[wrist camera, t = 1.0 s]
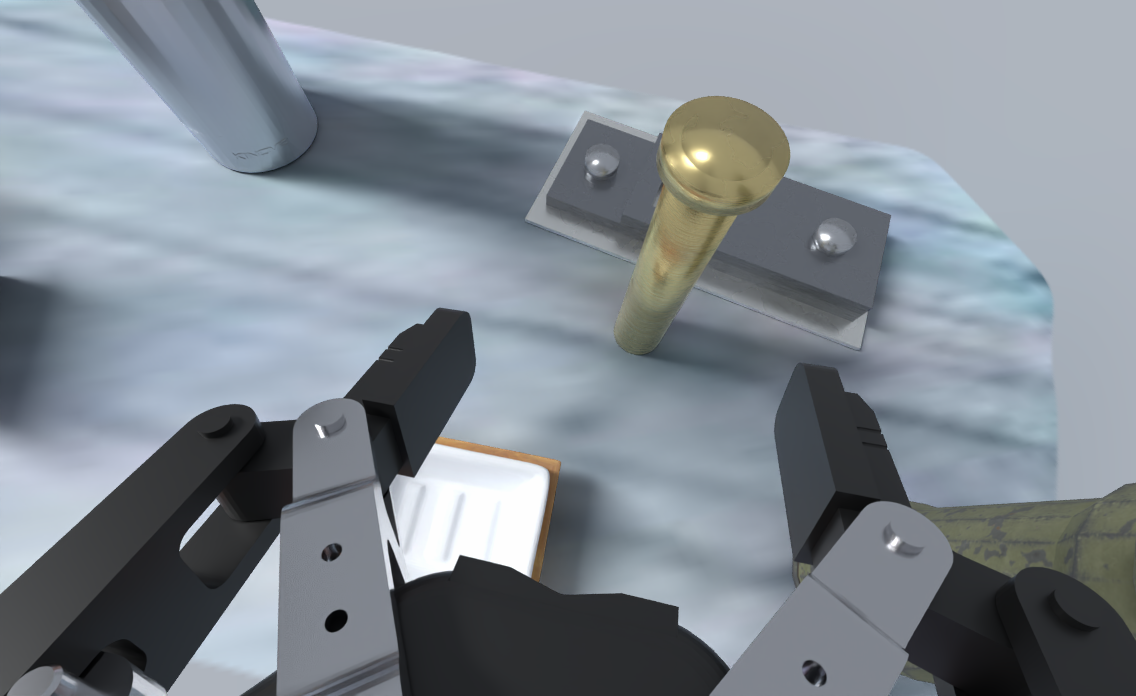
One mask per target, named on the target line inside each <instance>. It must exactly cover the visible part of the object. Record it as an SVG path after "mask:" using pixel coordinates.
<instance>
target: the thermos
mask: <svg viewBox="0 0 1136 696" xmlns="http://www.w3.org/2000/svg"><path fill="white" fill-rule="evenodd" d="M909 503H910V505H911V508H912V509H913V510H915V511H917V512H919V513H920V514H922V515H923V516H925V517H926V518H928V519H929V520H930V521H931V522H932V523H934V524H935V525H936V526H937V527H938V528H939V529H940V530H941V532H942V533H943V534H944V536H945V537H946V539H947V540H948V542H949V544H950V546H951V549H952V550H953V551H955V552H956V553H958V554H960V555H962V556H964V557H966V558H969V559H971V560H973V561H975V562H978V563H980V564H982V565H984V566H987V567H989V568H991V569H993V570H996V571H998V572H1000V573H1002V574H1005V575H1007V576H1009V577H1011V578H1012V577H1014V576H1015V575H1016V574H1017V573H1018V572H1020V571H1021V570H1022V569H1025V568H1028V567H1044V568H1049V569H1052V570H1056V571H1059V572H1061V573H1064V574H1066V575H1068V576H1070V577H1072V578H1074V579H1076V580H1078V581H1080V582H1081V583H1083V584H1084V585H1086V586H1088V587H1089V588H1090V589H1092V590H1093V591H1095V592H1096V593H1097V594H1098V595H1100V596H1101V597H1102V598H1103V599H1104V600H1106V601H1107V602H1108V603H1109V604H1110V605H1111V606H1112V607H1113V608H1114V609H1115V611H1116V612H1117V613H1118V614H1119V615H1120V616H1121V618H1122V619H1123V621H1124V622H1125V624H1126V625H1127V627H1128V628H1129V630H1130V632H1131V633H1132V635H1133V637H1134V638H1135V640H1136V483H1132V484H1125V485H1123V486H1122V487H1120V488H1118V489H1117V490H1115V491H1113V492H1112V493H1110V494H1108V495H1107V496H1105V497H1103V498H1094V499H1077V500H1060V501H1044V502H1027V503H1010V504H993V505H977V506H960V507H943V508H936V507H933V506H930V505H926V504H921V503H916V502H911V501H909ZM813 571H814V567H813V565H809V564H804V563H800V562H795V561H794V559H793V572H792V576H793V579H794V583H795V587H796V588H797V587H798V586H799V584H800V583H801V582H802V581H803V580H804V578H805V577H806V576H807V575H808V574H809V573H812V572H813ZM900 674H901V675H904V676H906V677H909V678H911V679H914V680H919V681H924V682H928V683H933V684H935V683H934V679H933V675H932V674H931V673H929V672H927V671H925V670H923V669H922V668H920V667H918V666H916V665H914V664H912V663H911V662H909V661H907V662H906V664H905V666H904V668H903V670H902V672H901V673H900Z"/></svg>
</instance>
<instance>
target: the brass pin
mask: <svg viewBox="0 0 1136 696" xmlns="http://www.w3.org/2000/svg"><path fill="white" fill-rule="evenodd" d="M789 161H790V148H789V143H788V140H787V137H786V135H785V133H784V132H783V130H782V129H781V127H780V126H779V124H778V123H777V122H776V121H775V120H774V119H773V118H772V117H771V116H770V115H768V114H767V113H766V112H764V111H763V110H762V109H760V108H758V107H757V106H755V105H752V104H750V103H748V102H745V101H743V100H740V99H736V98H731V97H724V96H708V97H702V98H698V99H694V100H692V101H689V102H687V103H685V104H683V105H682V106H680V107H679V108H678V109H676V110H675V111H674V112H673V113H672V115H671V116H670V117H669V119H668V121H667V123H666V125H665V128H664V132H663V135H662V138H661V142H660V145H659V148H658V152H657V158H656V162H657V169H658V173H659V176H660V178H661V180H662V182H663V184H664V185H663V188H662V191H661V194H660V196H659V199H658V202H657V205H656V208H655V211H654V214H653V217H652V219H651V222H650V225H649V228H648V231H647V234H646V237H645V240H644V243H643V245H642V248H641V251H640V254H639V257H638V260H637V263H636V266H635V268H634V271H633V274H632V277H631V280H630V283H629V286H628V289H627V291H626V294H625V297H624V300H623V303H622V306H621V309H620V312H619V315H618V317H617V320H616V323H615V326H614V337H615V340H616V342H617V343H618V345H619V346H620V347H621V348H622V349H623V350H625V351H626V352H628V353H631V354H635V355H643V354H647V353H649V352H651V351H653V350H654V349H655V348H656V347H657V345H658V344H659V342H660V341H661V339H662V337H663V336H664V334H665V332H666V331H667V329H668V328H669V326H670V324H671V323H672V321H673V319H674V318H675V316H676V315H677V313H678V311H679V310H680V308H681V306H682V305H683V303H684V302H685V300H686V298H687V297H688V295H689V293H690V292H691V290H692V289H693V287H694V285H695V284H696V282H697V280H698V279H699V277H700V275H701V274H702V272H703V271H704V269H705V267H706V266H707V264H708V262H709V261H710V259H711V258H712V256H713V254H714V253H715V251H716V249H717V248H718V246H719V245H720V243H721V241H722V240H723V238H724V236H725V235H726V233H727V232H728V230H729V228H730V227H731V225H732V223H733V222H734V220H735V219H736V217H737V215H741V214H744V213H747V212H750V211H752V210H754V209H756V208H758V207H759V206H761V205H762V204H763V203H764V202H765V201H766V200H767V199H768V198H769V196H770V195H771V194H772V192H773V191H774V189H775V188H776V186H777V185H778V183H779V182H780V180H781V179H782V177H783V176H784V174H785V172H786V171H787V168H788V165H789Z"/></svg>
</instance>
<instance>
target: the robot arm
mask: <svg viewBox="0 0 1136 696" xmlns="http://www.w3.org/2000/svg"><path fill="white" fill-rule="evenodd" d="M75 1H76V2H77V4H78V5H79V6H80V7H81V8H82V9H83V10H84V12H85V13H86V14H87V15H88V16H89V17H90V18H91V19H92V21H93V22H94V23H95V24H96V25H97V26H98V27H99V29H100V30H101V31H102V32H103V33H104V34H105V35H106V37H107V38H108V39H109V40H110V41H111V42H112V43H113V44H114V46H115V47H116V48H117V49H118V50H119V51H120V52H121V54H122V55H123V56H124V57H125V58H126V59H127V60H128V62H129V63H130V64H131V65H132V66H133V67H134V68H135V69H136V71H137V72H138V73H139V74H140V75H141V76H142V77H143V79H144V80H145V81H146V82H147V83H148V84H149V85H150V87H151V88H152V89H153V90H154V91H155V92H156V93H157V94H158V96H159V97H160V98H161V99H162V100H163V101H164V102H165V104H166V105H167V106H168V107H169V108H170V109H171V110H172V112H173V113H174V114H175V115H176V116H177V117H178V118H179V120H180V121H181V122H182V123H183V124H184V125H185V127H186V128H187V129H188V130H189V131H190V132H191V133H192V134H193V136H194V137H195V138H196V139H197V140H198V141H199V142H200V144H201V145H202V146H203V147H204V148H205V149H206V150H207V151H208V153H209V154H210V155H211V156H212V157H213V158H214V159H215V160H216V161H217V162H218V163H220V164H221V165H223V166H225V167H227V168H229V169H233V170H236V171H240V172H249V173H253V172H265V171H269V170H274V169H277V168H280V167H282V166H285V165H287V164H289V163H290V162H292V161H294V160H296V159H297V158H298V157H300V156H301V155H302V154H303V153H304V152H305V151H306V150H307V149H308V148H309V146H310V145H311V144H312V142H313V140H314V138H315V136H316V133H317V128H318V123H317V117H316V114H315V112H314V109H313V108H312V106H311V104H310V102H309V100H308V98H307V97H306V95H305V93H304V91H303V89H302V87H301V86H300V84H299V82H298V80H297V78H296V76H295V75H294V72H293V71H292V69H291V67H290V65H289V63H288V61H287V60H286V58H285V56H284V54H283V52H282V50H281V49H280V47H279V45H278V43H277V41H276V39H275V38H274V36H273V34H272V32H271V30H270V28H269V27H268V25H267V23H266V21H265V19H264V18H263V16H262V14H261V12H260V10H259V8H258V7H257V5H256V3H255V2H254V0H75ZM475 366H476V357H475V348H474V340H473V332H472V324H471V318H470V315H469V313H468V312H465V311H459V310H452V309H445V308H438V309H436V310H435V311H434V313H433V314H432V315H431V316H430V317H429V319H428V320H427V321H426V322H425V323H424V325H423V324H415V325H414V326H412V327H410V328H409V329H407V330H405V331H403V332H402V333H400V334H399V335H398V336H397V337H396V338H395V340H394V341H393V342H392V343H391V344H390V345H389V346H388V350H387V349H386V350H385V351H384V352H383V353H382V354H381V356H380V357H379V360H376V361H375V362H374V364H373V365H372V366H371V367H370V368H369V369H368V370H367V372H366V373H365V374H364V375H363V376H362V377H361V378H360V380H359V381H358V382H357V383H356V384H355V385H354V386H353V388H352V389H351V390H350V391H349V392H348V393H347V394H346V396H345V397H344V398H338V399H331V400H327V401H323V402H321V403H318V404H316V405H314V406H312V407H311V408H309V409H308V410H306V411H305V412H304V413H303V414H301V416H300V417H299V418H298V419H297V420H287V421H273V422H260V421H259V419H258V417H257V416H256V414H255V412H254V411H253V409H251V408H250V407H248V406H245V405H240V404H230V405H223V406H219V407H216V408H213V409H210V410H208V411H205V412H203V413H201V414H200V415H198V416H196V417H195V418H193V419H192V420H190V421H189V422H188V423H187V424H186V425H185V426H184V427H182V428H181V429H180V430H179V431H178V432H177V433H176V434H175V435H174V436H173V437H172V438H170V439H169V440H168V441H167V442H166V443H165V444H164V445H163V446H162V447H161V448H160V449H158V450H157V451H156V452H155V453H154V454H153V455H152V456H151V457H150V458H149V459H148V460H146V461H145V462H144V463H143V464H142V465H141V466H140V467H139V468H138V469H137V470H136V471H134V472H133V473H132V474H131V475H130V476H129V477H128V478H127V479H126V480H125V481H124V482H122V483H121V484H120V485H119V486H118V487H117V488H116V489H115V490H114V491H113V492H112V493H110V494H109V495H108V496H107V497H106V498H105V499H104V500H103V501H102V502H101V503H100V504H98V505H97V506H96V507H95V508H94V509H93V510H92V511H91V512H90V513H89V514H88V515H86V516H85V517H84V518H83V519H82V520H81V521H80V522H79V523H78V524H77V525H76V526H74V527H73V528H72V529H71V530H70V531H69V532H68V533H67V534H66V535H65V536H64V537H62V538H61V539H60V540H59V541H58V542H57V543H56V544H55V545H54V546H53V547H52V548H50V549H49V550H48V551H47V552H46V553H45V554H44V555H43V556H42V557H41V558H40V559H38V560H37V561H36V562H35V563H34V564H33V565H32V566H31V567H30V568H29V569H28V570H26V571H25V572H24V573H23V574H22V575H21V576H20V577H19V578H18V579H17V580H16V581H14V582H13V583H12V584H11V585H10V586H9V587H8V588H7V589H6V590H5V591H4V592H2V593H1V594H0V696H167V692H168V691H169V689H170V688H171V686H172V685H173V684H174V682H175V681H176V679H177V678H178V676H179V675H180V674H181V672H182V671H183V669H184V668H185V666H186V665H187V664H188V662H189V661H190V659H191V658H192V657H193V655H194V654H195V652H196V651H197V650H198V648H199V647H200V645H201V644H202V642H203V641H204V640H205V638H206V637H207V635H208V634H209V633H210V631H211V630H212V628H213V627H214V625H215V624H216V623H217V621H218V620H219V618H220V617H221V615H222V614H223V613H224V611H225V610H226V608H227V607H228V606H229V604H230V603H231V601H232V600H233V598H234V597H235V596H236V594H237V593H238V591H239V590H240V589H241V587H242V586H243V584H244V583H245V581H246V580H247V579H248V577H249V576H250V574H251V573H252V572H253V570H254V569H255V567H256V566H257V564H258V563H259V562H260V560H261V559H262V557H263V556H264V555H265V553H266V552H267V550H268V549H269V547H270V546H271V545H272V543H273V542H274V540H275V539H276V537H277V536H278V535H279V533H280V567H279V609H278V652H277V670H276V671H275V672H274V673H272V674H271V675H269V676H268V677H266V678H265V679H263V680H262V681H261V682H259V683H258V684H256V685H255V686H254V687H252V688H251V689H249V690H248V691H246V692H245V693H243V694H242V695H241V696H888V695H889V693H890V691H891V690H892V688H893V686H894V684H895V682H896V681H897V679H898V677H899V675H900V673H901V672H902V670H903V668H904V666H905V664H906V662H907V661H909V662H911V663H912V664H914V665H916V666H918V667H920V668H922V669H923V670H925V671H927V672H929V673H931V674H932V675H933V679H934V683H935V686H936V690H937V694H938V696H1136V640H1135V638H1134V637H1133V635H1132V633H1131V632H1130V630H1129V628H1128V627H1127V625H1126V624H1125V622H1124V621H1123V619H1122V618H1121V616H1120V615H1119V614H1118V613H1117V612H1116V611H1115V609H1114V608H1113V607H1112V606H1111V605H1110V604H1109V603H1108V602H1107V601H1106V600H1104V599H1103V598H1102V597H1101V596H1100V595H1098V594H1097V593H1096V592H1095V591H1093V590H1092V589H1090V588H1089V587H1088V586H1086V585H1084V584H1083V583H1081V582H1080V581H1078V580H1076V579H1074V578H1072V577H1070V576H1068V575H1066V574H1064V573H1061V572H1059V571H1056V570H1052V569H1049V568H1044V567H1028V568H1025V569H1022V570H1021V571H1020V572H1018V573H1017V574H1016V575H1015V576H1014V577H1012V578H1011V577H1009V576H1007V575H1005V574H1002V573H1000V572H998V571H996V570H993V569H991V568H989V567H987V566H984V565H982V564H980V563H978V562H975V561H973V560H971V559H969V558H966V557H964V556H962V555H960V554H958V553H956V552H955V551H953V550H952V549H951V546H950V544H949V542H948V540H947V539H946V537H945V536H944V534H943V533H942V532H941V530H940V529H939V528H938V527H937V526H936V525H935V524H934V523H932V522H931V521H930V520H929V519H928V518H926V517H925V516H923V515H922V514H920V513H919V512H917V511H915V510H913V509H912V508H911V505H910V503H909V500H908V497H907V495H906V492H905V490H904V487H903V485H902V482H901V480H900V477H899V475H898V472H897V469H896V467H895V464H894V462H893V459H892V457H891V454H890V452H889V450H887V444H886V441H885V439H884V436H883V434H881V429H880V426H879V424H878V421H877V419H876V416H875V413H874V411H873V410H872V409H871V408H870V407H869V406H868V405H867V404H866V403H865V402H864V401H863V399H862V398H861V397H860V396H859V395H858V394H855V393H849V392H845V391H844V388H843V385H842V383H841V380H840V377H839V374H838V371H837V370H836V369H835V368H832V367H826V366H819V365H812V364H806V363H798V364H797V366H796V367H795V369H794V371H793V374H792V376H791V379H790V381H789V384H788V386H787V389H786V391H785V393H784V396H783V398H782V401H781V403H780V406H779V408H778V411H777V414H776V419H775V428H774V434H775V442H776V448H777V455H778V461H779V468H780V474H781V481H782V487H783V494H784V501H785V507H786V514H787V520H788V527H789V533H790V540H791V546H792V553H793V559H794V561H795V562H800V563H804V564H809V565H813V567H814V571H813V572H812V573H809V574H808V575H807V576H806V577H805V578H804V580H803V581H802V582H801V583H800V584H799V586H798V587H797V588H796V589H795V591H794V592H793V593H792V594H791V595H790V597H789V598H788V599H787V600H786V602H785V603H784V604H783V605H782V607H781V608H780V609H779V610H778V611H777V613H776V614H775V615H774V616H773V618H772V619H771V620H770V621H769V623H768V624H767V625H766V626H765V627H764V629H763V630H762V631H761V632H760V634H759V635H758V636H757V637H756V638H755V640H754V641H753V642H752V643H751V645H750V646H749V647H748V648H747V650H746V651H745V652H744V653H743V654H742V656H741V657H740V658H739V659H738V661H737V662H736V663H735V664H734V665H733V667H732V668H731V669H729V667H728V666H727V665H726V663H725V662H724V661H723V660H722V659H721V658H720V657H719V656H718V655H717V654H716V653H715V652H714V650H712V649H711V648H710V647H709V646H708V645H707V644H706V643H704V642H703V641H702V640H701V639H700V638H698V637H697V636H695V635H694V634H692V633H691V632H690V631H688V630H687V629H685V628H683V627H681V626H679V625H678V610H679V607H677V606H672V605H668V604H664V603H660V602H656V601H652V600H647V599H643V598H639V597H635V596H631V595H626V594H622V593H616V594H579V595H564V594H560V593H557V592H555V591H553V590H552V589H550V588H548V587H546V586H544V585H543V584H541V583H539V582H537V581H535V580H534V579H532V578H530V577H528V576H526V575H524V574H523V573H521V572H519V571H517V570H515V569H514V568H512V567H509V566H505V565H501V564H497V563H493V562H489V561H484V560H480V559H476V558H472V557H468V556H464V555H459V558H458V560H457V562H456V565H455V567H454V569H453V571H443V572H437V573H432V574H429V575H425V576H422V577H419V578H416V579H414V580H411V581H410V577H409V573H408V570H407V566H406V562H405V558H404V553H403V548H402V543H401V537H400V532H399V527H398V522H397V516H396V511H395V506H394V500H393V495H392V491H391V487H390V485H391V483H392V482H393V480H394V479H395V477H396V475H397V474H398V475H403V476H407V477H412V478H415V476H416V474H417V473H418V471H419V469H420V468H421V466H422V464H423V462H424V461H425V459H426V457H427V456H428V454H429V452H430V451H431V449H432V447H433V445H434V444H435V442H436V440H437V439H438V437H439V435H440V434H441V432H442V430H443V429H444V427H445V425H446V423H447V422H448V420H449V418H450V417H451V415H452V413H453V412H454V410H455V408H456V406H457V405H458V403H459V401H460V400H461V398H462V396H463V395H464V393H465V391H466V389H467V388H468V386H469V384H470V383H471V381H472V378H473V376H474V372H475ZM215 499H217V500H218V502H219V503H220V505H219V506H218V507H217V508H216V510H215V511H214V512H213V513H212V514H211V515H210V517H209V518H208V519H207V520H206V521H205V522H204V524H203V525H202V526H201V527H200V528H199V529H198V531H197V532H196V533H195V534H194V535H193V536H192V538H191V539H190V540H189V541H188V542H187V543H186V545H185V546H184V547H183V548H182V549H181V550H180V552H179V549H180V544H181V541H182V539H183V537H184V535H185V533H186V532H187V531H188V529H189V528H190V527H191V526H192V525H193V524H194V523H195V521H196V520H197V519H198V518H199V517H200V516H201V515H202V513H203V512H204V511H205V510H206V509H207V508H208V507H209V505H210V504H211V503H212V502H213V501H214V500H215Z"/></svg>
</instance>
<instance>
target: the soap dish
mask: <svg viewBox="0 0 1136 696" xmlns="http://www.w3.org/2000/svg"><path fill="white" fill-rule="evenodd" d="M560 466H561V462H560V461H558V460H554V459H549V458H545V457H540V456H535V455H530V454H525V453H520V452H515V451H510V450H505V449H500V448H494V447H490V446H484V445H479V444H474V443H469V442H464V441H459V440H454V439H448V438H443V437H438V439H437V440H436V442H435V444H434V445H433V447H432V449H431V451H430V452H429V454H428V456H427V457H426V459H425V461H424V462H423V464H422V466H421V468H420V469H419V471H418V473H417V474H416V476H415V478H412V477H407V476H403V475H398V474H397V475H396V477H395V479H394V480H393V482H392V483H391V485H390V487H391V491H392V495H393V500H394V506H395V511H396V516H397V522H398V527H399V532H400V537H401V543H402V548H403V553H404V558H405V562H406V566H407V570H408V573H409V577H410V581H411V580H414V579H416V578H419V577H422V576H425V575H429V574H432V573H437V572H443V571H453V569H454V567H455V565H456V562H457V560H458V558H459V555H464V556H468V557H472V558H476V559H480V560H484V561H489V562H493V563H497V564H501V565H505V566H509V567H512V568H514V569H515V570H517V571H519V572H521V573H523V574H524V575H526V576H528V577H530V578H532V579H534V580H535V581H537V582H539V579H540V574H541V568H542V563H543V559H544V552H545V547H546V542H547V536H548V531H549V525H550V520H551V515H552V509H553V504H554V498H555V493H556V488H557V483H558V477H559V471H560Z"/></svg>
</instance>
